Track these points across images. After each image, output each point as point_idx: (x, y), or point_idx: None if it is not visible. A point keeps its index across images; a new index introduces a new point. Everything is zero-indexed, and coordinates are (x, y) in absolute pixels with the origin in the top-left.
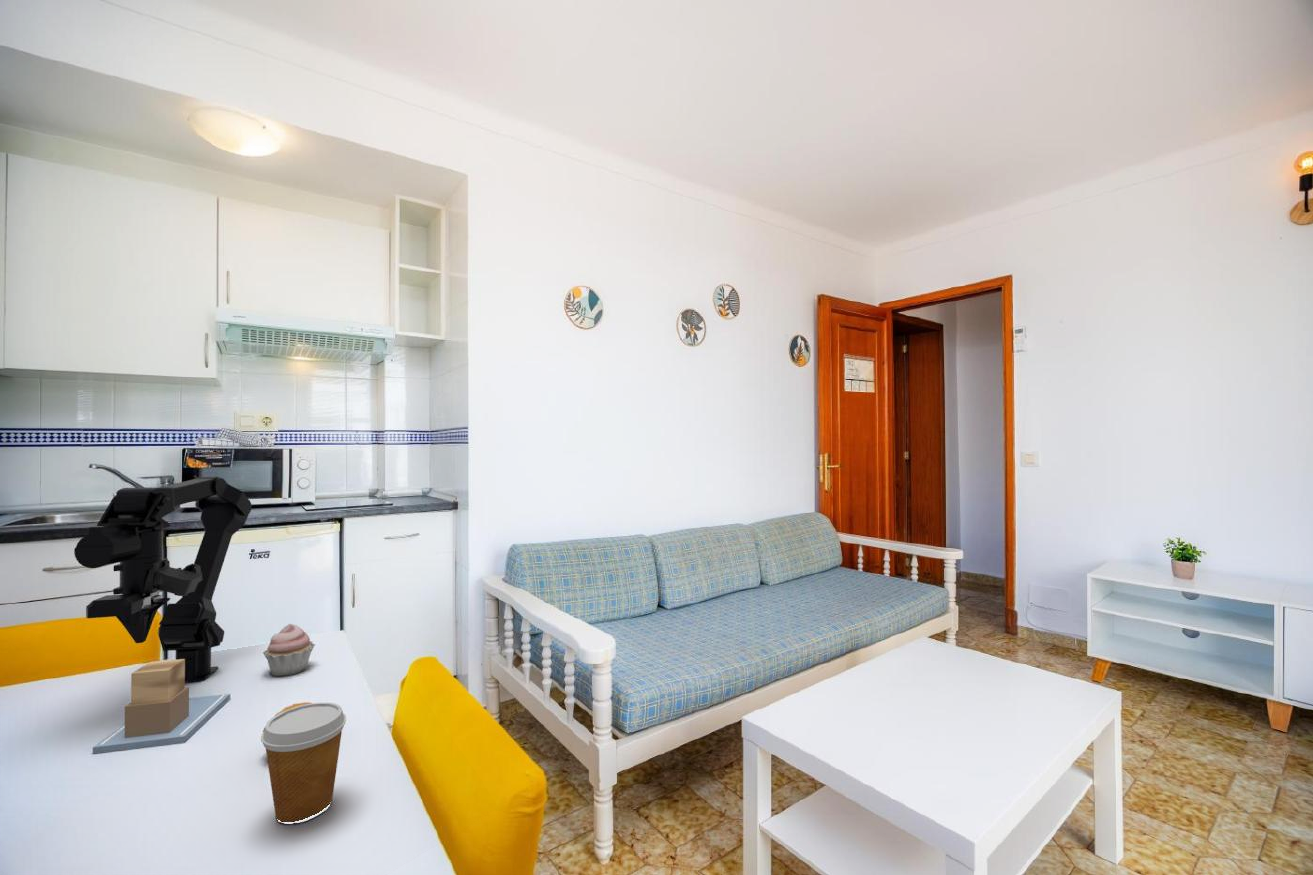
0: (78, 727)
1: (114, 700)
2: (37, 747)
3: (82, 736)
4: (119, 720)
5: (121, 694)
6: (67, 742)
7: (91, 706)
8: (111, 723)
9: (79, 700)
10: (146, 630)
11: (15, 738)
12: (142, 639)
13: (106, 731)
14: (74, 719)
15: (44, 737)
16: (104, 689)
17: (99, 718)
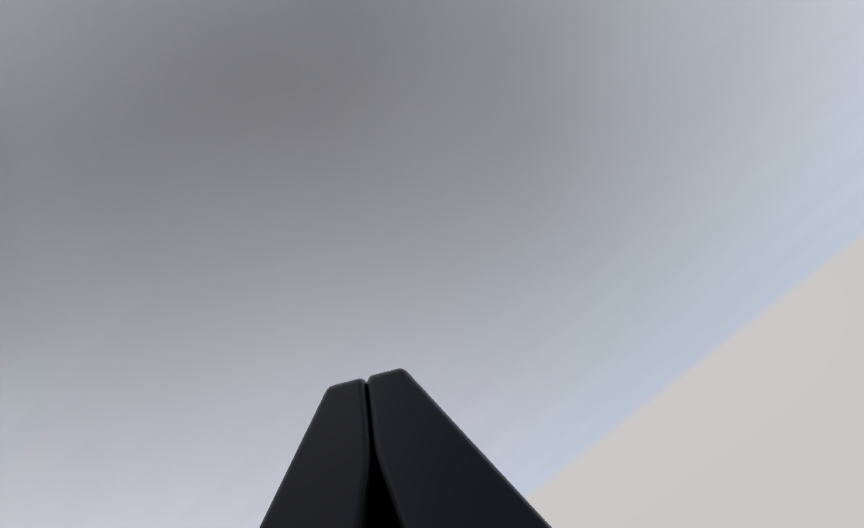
0: (558, 228)
1: (195, 343)
2: (762, 228)
3: (688, 104)
4: (496, 61)
5: (104, 377)
6: (747, 124)
7: (283, 392)
8: (535, 77)
9: (208, 509)
10: (366, 505)
11: (628, 405)
12: (422, 397)
13: (652, 9)
14: (449, 335)
15: (649, 293)
16: (51, 518)
17: (451, 214)
